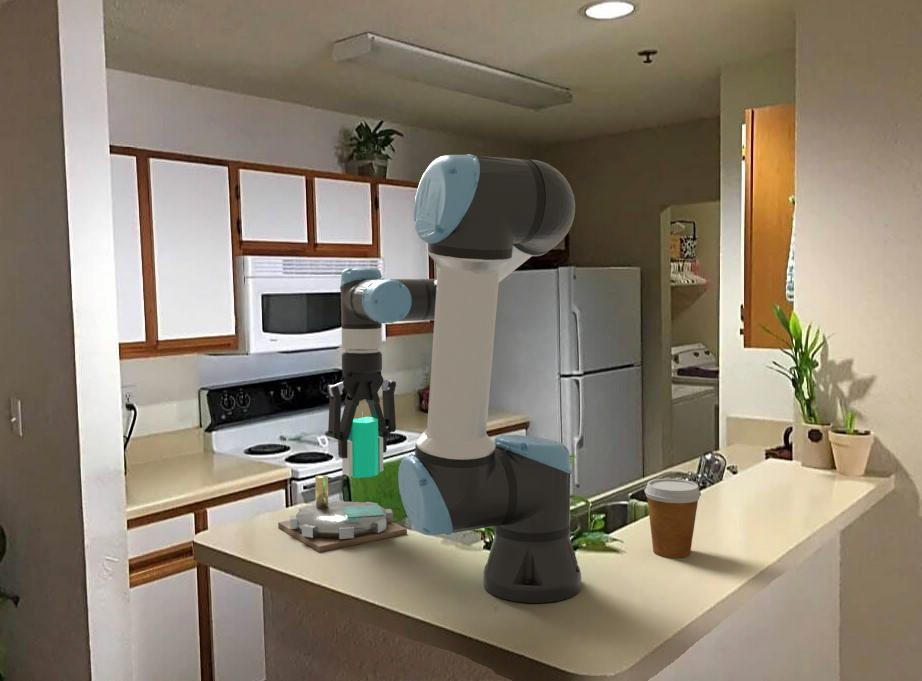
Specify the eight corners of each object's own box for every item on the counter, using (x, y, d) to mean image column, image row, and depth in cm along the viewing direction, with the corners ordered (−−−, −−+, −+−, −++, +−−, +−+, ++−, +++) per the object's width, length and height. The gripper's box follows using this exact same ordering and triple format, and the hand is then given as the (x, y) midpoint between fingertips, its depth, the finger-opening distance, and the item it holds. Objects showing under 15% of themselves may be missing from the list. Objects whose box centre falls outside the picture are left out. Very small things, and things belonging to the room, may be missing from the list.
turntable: (384, 507, 170) (384, 468, 169) (399, 535, 151) (399, 491, 151) (288, 513, 165) (287, 473, 165) (292, 543, 147) (291, 498, 146)
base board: (406, 533, 156) (406, 528, 156) (319, 552, 146) (319, 546, 146) (361, 512, 171) (361, 507, 171) (278, 527, 161) (278, 522, 160)
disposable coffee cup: (702, 563, 140) (703, 492, 139) (644, 559, 141) (645, 490, 141) (697, 545, 149) (698, 479, 148) (643, 542, 151) (644, 476, 150)
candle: (381, 470, 161) (381, 409, 160) (375, 478, 155) (374, 414, 154) (351, 469, 161) (350, 408, 160) (343, 477, 155) (342, 413, 155)
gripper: (395, 346, 165) (395, 462, 167) (306, 351, 154) (308, 475, 156) (415, 349, 159) (415, 469, 160) (324, 355, 148) (326, 483, 150)
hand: (363, 472), depth 158 cm, fingers closed on candle, 6 cm apart
